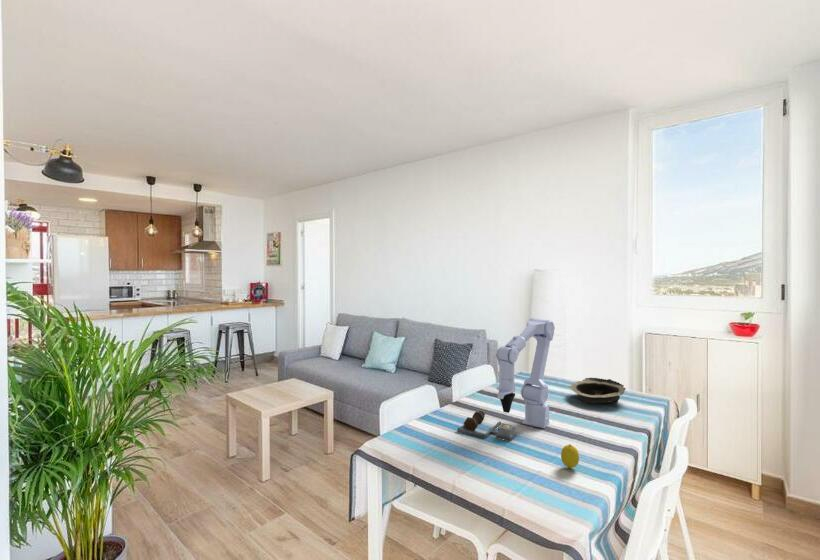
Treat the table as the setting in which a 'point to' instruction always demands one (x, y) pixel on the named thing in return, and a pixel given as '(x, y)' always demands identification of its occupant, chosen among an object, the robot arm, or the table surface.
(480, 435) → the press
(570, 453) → the lemon
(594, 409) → the table surface
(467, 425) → the bolt
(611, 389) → the stone bowl
